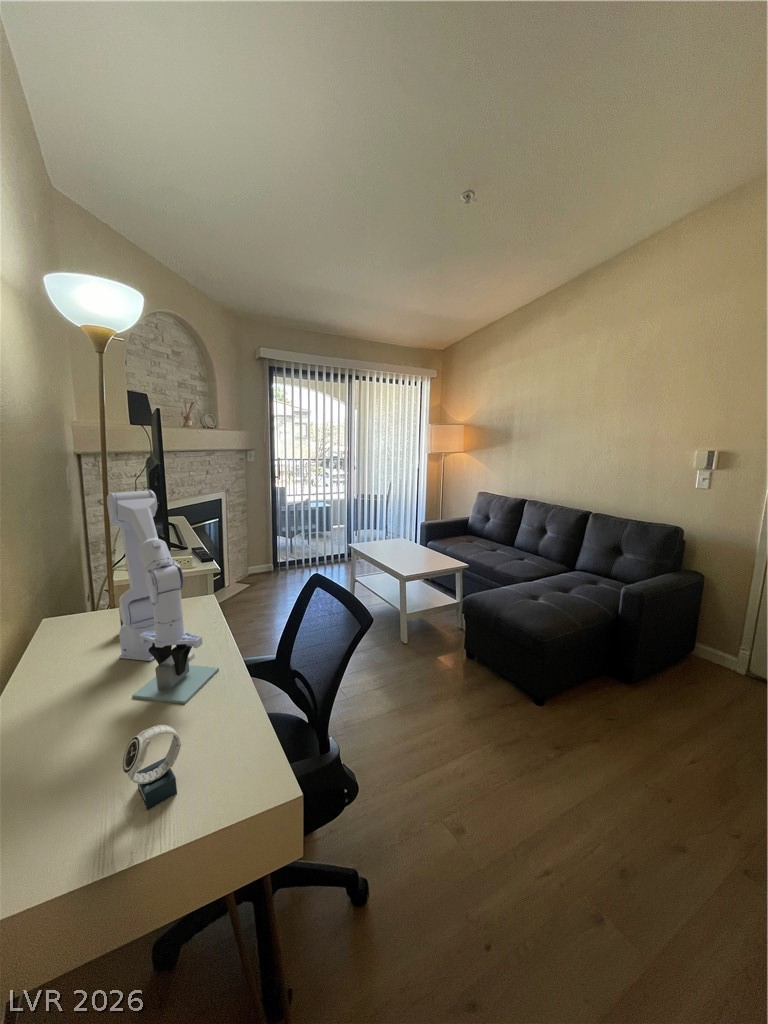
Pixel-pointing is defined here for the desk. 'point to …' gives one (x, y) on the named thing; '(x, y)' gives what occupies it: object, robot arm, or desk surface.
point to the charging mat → (178, 686)
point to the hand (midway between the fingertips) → (174, 672)
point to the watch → (152, 766)
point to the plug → (170, 673)
